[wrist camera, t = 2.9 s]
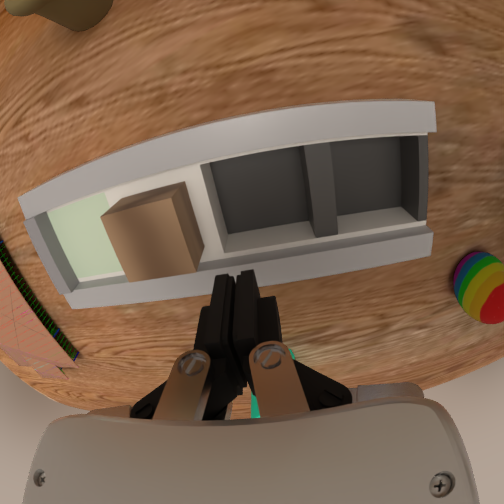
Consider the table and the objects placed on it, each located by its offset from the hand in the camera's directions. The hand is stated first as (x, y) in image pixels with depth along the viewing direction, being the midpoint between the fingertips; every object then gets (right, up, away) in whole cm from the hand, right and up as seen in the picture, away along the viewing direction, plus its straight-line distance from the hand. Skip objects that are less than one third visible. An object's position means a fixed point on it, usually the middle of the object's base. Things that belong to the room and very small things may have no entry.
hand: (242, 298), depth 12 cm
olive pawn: (-16, +26, +3) cm, 31 cm away
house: (-43, -7, +24) cm, 50 cm away
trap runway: (-3, +7, +14) cm, 16 cm away
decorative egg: (+30, 0, +18) cm, 35 cm away
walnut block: (-7, +5, +11) cm, 14 cm away
